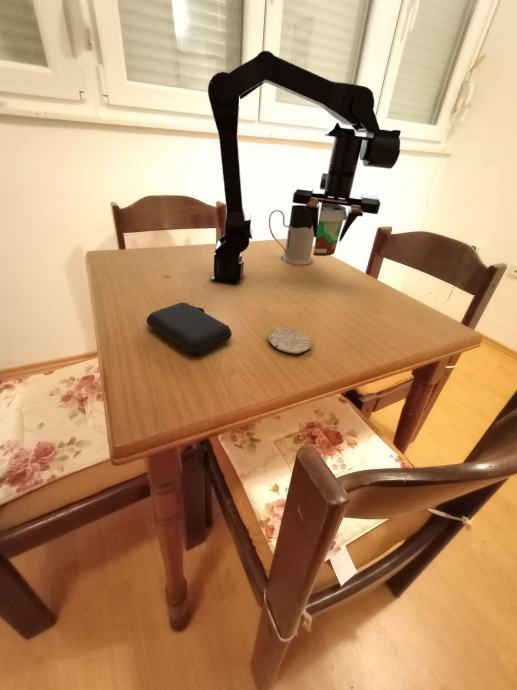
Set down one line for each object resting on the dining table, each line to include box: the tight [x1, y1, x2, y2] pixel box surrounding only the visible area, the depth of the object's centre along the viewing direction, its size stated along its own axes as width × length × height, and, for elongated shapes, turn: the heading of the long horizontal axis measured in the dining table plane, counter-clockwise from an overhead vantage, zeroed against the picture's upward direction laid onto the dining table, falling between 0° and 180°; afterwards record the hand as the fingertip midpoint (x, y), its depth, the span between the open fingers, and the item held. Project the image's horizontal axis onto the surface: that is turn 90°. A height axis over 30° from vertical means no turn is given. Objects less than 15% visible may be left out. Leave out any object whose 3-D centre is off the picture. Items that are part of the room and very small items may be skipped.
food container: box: [313, 203, 348, 257], centre depth 73 cm, size 12×6×10 cm, turn 169°
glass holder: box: [268, 204, 315, 266], centre depth 92 cm, size 9×14×15 cm, turn 89°
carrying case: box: [146, 302, 233, 356], centre depth 56 cm, size 11×3×15 cm
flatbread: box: [267, 327, 312, 355], centre depth 56 cm, size 8×8×1 cm
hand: (327, 239), depth 74 cm, fingers closed on food container, 5 cm apart
